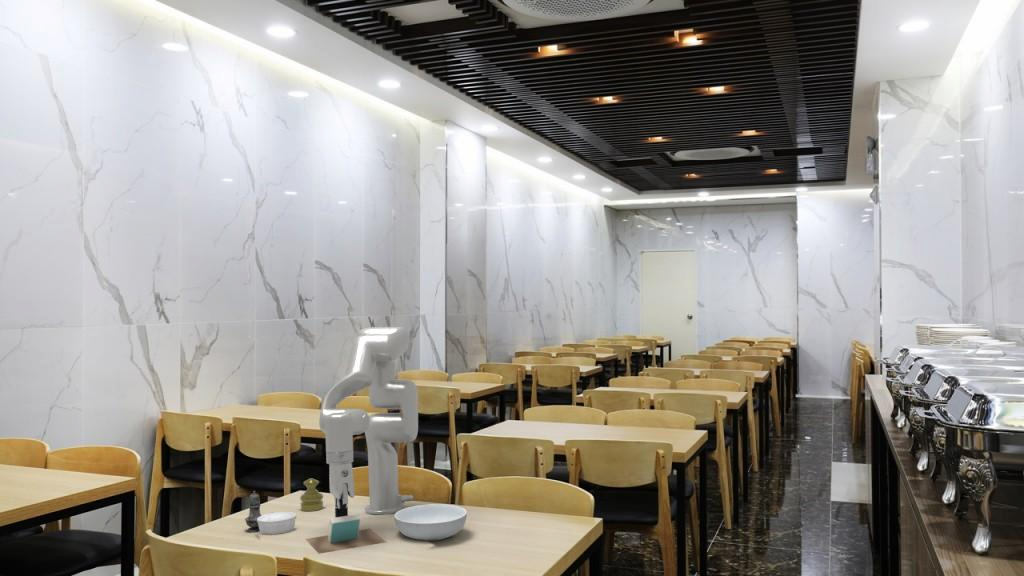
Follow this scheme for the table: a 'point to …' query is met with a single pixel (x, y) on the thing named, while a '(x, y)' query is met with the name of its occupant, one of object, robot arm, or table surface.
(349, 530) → the tile
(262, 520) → the ramekin
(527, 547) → the table surface
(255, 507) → the salt shaker
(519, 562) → the table surface
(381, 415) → the robot arm
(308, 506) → the olive chess piece
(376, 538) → the board
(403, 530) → the serving bowl
